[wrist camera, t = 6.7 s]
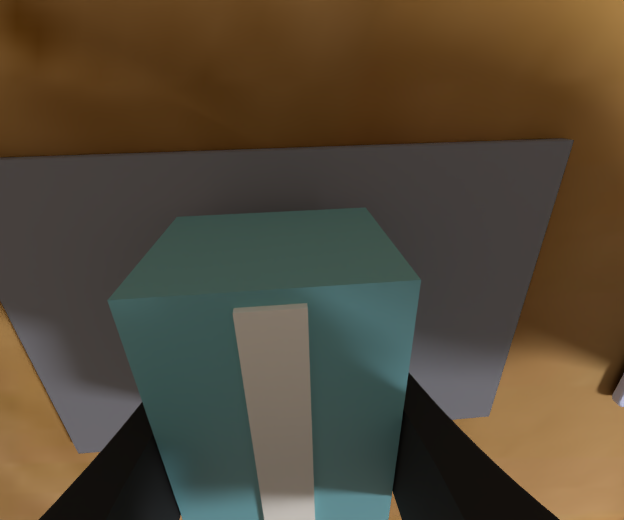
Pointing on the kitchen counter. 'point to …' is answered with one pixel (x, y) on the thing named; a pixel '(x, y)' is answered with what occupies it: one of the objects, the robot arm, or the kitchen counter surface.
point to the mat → (273, 198)
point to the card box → (273, 361)
